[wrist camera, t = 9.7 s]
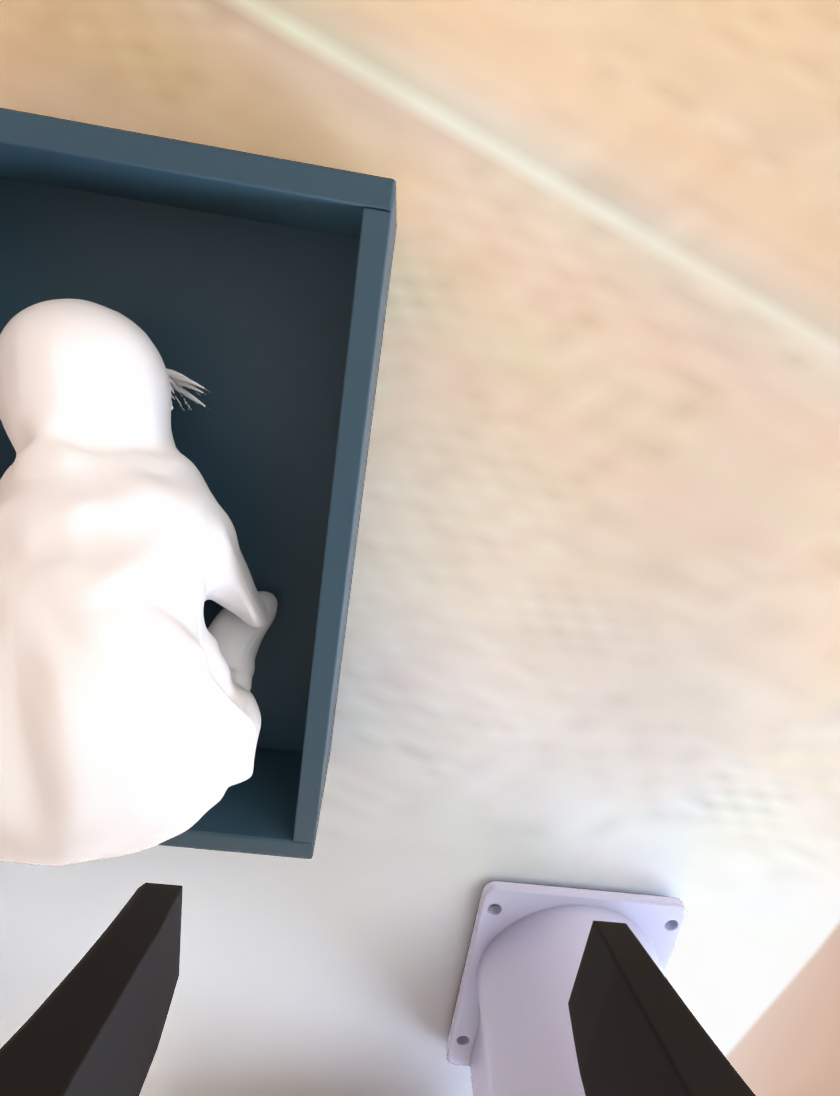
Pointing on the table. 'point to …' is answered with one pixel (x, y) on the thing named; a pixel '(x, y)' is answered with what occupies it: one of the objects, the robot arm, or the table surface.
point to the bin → (233, 385)
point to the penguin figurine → (112, 600)
